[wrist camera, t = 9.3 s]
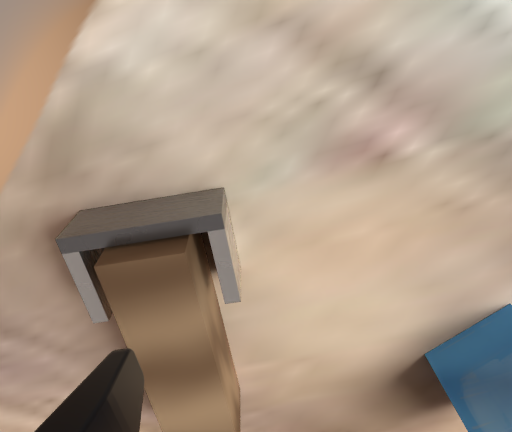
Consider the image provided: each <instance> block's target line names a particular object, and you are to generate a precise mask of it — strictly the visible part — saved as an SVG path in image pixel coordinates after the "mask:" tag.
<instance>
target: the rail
mask: <svg viewBox="0 0 512 432" xmlns="http://www.w3.org/2000/svg"><path fill="white" fill-rule="evenodd" d="M94 269H95V271H96V274H97V276H98V278H99V281H100V283H101V286H102V288H103V290H104V293H105V295H106V298H107V300H108V302H109V305H110V307H111V310H112V312H113V314H114V317H115V319H116V322H117V324H118V326H119V329H120V331H121V334H122V336H123V338H124V341H125V343H126V346H127V348H130V349H132V350H133V351H134V353H135V355H136V357H137V360H138V362H139V364H140V367H141V369H142V372H143V375H144V389H145V391H146V394H147V396H148V398H149V401H150V403H151V406H152V408H153V410H154V413H155V415H156V418H157V420H158V422H159V425H160V427H161V430H162V432H240V387H239V383H238V379H237V375H236V371H235V367H234V363H233V359H232V355H231V351H230V347H229V343H228V339H227V335H226V331H225V327H224V323H223V319H222V315H221V311H220V307H219V303H218V299H217V296H216V292H215V288H214V284H213V280H212V276H211V272H210V268H209V264H208V260H207V256H206V252H205V248H204V244H203V240H202V236H201V233H196V234H189V235H183V236H176V237H170V238H164V239H157V240H151V241H144V242H138V243H131V244H125V245H119V246H112V247H106V248H105V249H104V251H103V252H102V254H101V256H100V257H99V259H98V261H97V262H96V264H95V266H94Z"/></svg>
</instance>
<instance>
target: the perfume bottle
mask: <svg viewBox="0 0 512 432" xmlns="http://www.w3.org/2000/svg"><path fill="white" fill-rule="evenodd" d="M425 356H426V358H427V360H428V361H429V363H430V365H431V367H432V368H433V370H434V372H435V374H436V376H437V377H438V379H439V381H440V383H441V384H442V386H443V388H444V390H445V392H446V393H447V395H448V397H449V399H450V400H451V402H452V404H453V406H454V407H455V409H456V411H457V413H458V415H459V416H460V418H461V420H462V422H463V423H464V425H465V427H466V429H467V430H468V432H512V305H511V304H509V305H507V306H505V307H504V308H502V309H500V310H499V311H497V312H495V313H493V314H492V315H490V316H488V317H487V318H485V319H483V320H482V321H480V322H478V323H477V324H475V325H473V326H471V327H470V328H468V329H466V330H465V331H463V332H461V333H460V334H458V335H456V336H455V337H453V338H451V339H449V340H448V341H446V342H444V343H443V344H441V345H439V346H438V347H436V348H434V349H433V350H431V351H429V352H427V353H426V354H425Z"/></svg>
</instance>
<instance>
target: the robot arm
mask: <svg viewBox="0 0 512 432" xmlns="http://www.w3.org/2000/svg"><path fill="white" fill-rule="evenodd" d="M143 393H144V375H143V372H142V369H141V367H140V364H139V362H138V360H137V357H136V355H135V353H134V351H133V350H132V349H130V348H127V349H120V350H115V351H112V352H111V353H110V354H109V355H108V356H107V357H106V358H105V359H104V360H103V361H102V362H101V363H100V364H99V365H98V366H97V367H96V368H95V369H94V370H93V371H92V372H91V373H90V375H89V376H88V377H87V378H86V379H85V380H84V381H83V382H82V383H81V384H80V385H79V386H78V387H77V388H76V389H75V390H74V391H73V392H72V393H71V394H70V395H69V396H68V397H67V398H66V399H65V400H64V401H63V403H62V404H61V405H60V406H59V407H58V408H57V409H56V410H55V411H54V412H53V413H52V414H51V415H50V416H49V417H48V418H47V419H46V420H45V421H44V422H43V423H42V424H41V425H40V426H39V427H38V428H37V429H36V431H35V432H139V429H140V420H141V411H142V402H143Z"/></svg>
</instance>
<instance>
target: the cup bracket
mask: <svg viewBox="0 0 512 432" xmlns="http://www.w3.org/2000/svg"><path fill="white" fill-rule="evenodd" d="M202 232H208V236H209V240H210V244H211V248H212V252H213V256H214V260H215V265H216V269H217V273H218V277H219V281H220V285H221V289H222V293H223V297H224V302H225V304H228V303H234V302H241V267H240V262H239V257H238V253H237V248H236V243H235V238H234V233H233V229H232V224H231V219H230V214H229V209H228V205H227V200H226V195H225V190H224V188H219V189H212V190H206V191H200V192H194V193H187V194H181V195H175V196H169V197H162V198H156V199H150V200H143V201H137V202H131V203H125V204H118V205H112V206H106V207H100V208H93V209H87V210H81V211H79V213H78V214H77V215H76V216H75V217H74V218H73V219H72V221H71V222H70V223H69V224H68V225H67V226H66V227H65V229H64V230H63V231H62V232H61V233H60V234H59V236H58V237H57V238H56V239H55V240H56V242H57V245H58V247H59V249H60V251H61V253H62V256H63V258H64V260H65V262H66V264H67V267H68V269H69V271H70V273H71V275H72V278H73V280H74V282H75V284H76V286H77V289H78V291H79V293H80V295H81V297H82V300H83V302H84V304H85V306H86V308H87V310H88V313H89V315H90V317H91V319H92V321H93V323H100V322H106V321H109V319H110V317H111V315H112V313H113V312H112V310H111V307H110V305H109V302H108V300H107V298H106V295H105V293H104V290H103V288H102V286H101V283H100V281H99V278H98V276H97V274H96V271H95V269H94V266H95V264H96V262H97V261H98V259H99V257H100V256H101V254H102V252H103V251H104V249H105V248H106V247H112V246H119V245H125V244H131V243H138V242H144V241H151V240H157V239H164V238H170V237H176V236H183V235H189V234H196V233H202Z"/></svg>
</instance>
